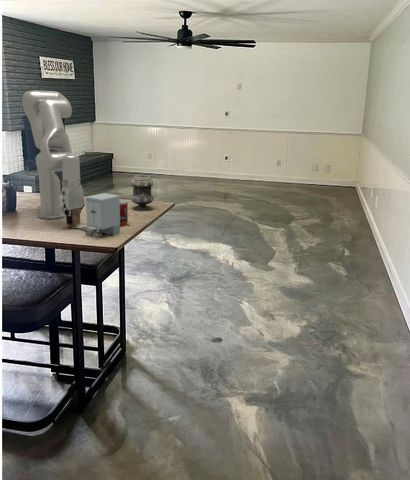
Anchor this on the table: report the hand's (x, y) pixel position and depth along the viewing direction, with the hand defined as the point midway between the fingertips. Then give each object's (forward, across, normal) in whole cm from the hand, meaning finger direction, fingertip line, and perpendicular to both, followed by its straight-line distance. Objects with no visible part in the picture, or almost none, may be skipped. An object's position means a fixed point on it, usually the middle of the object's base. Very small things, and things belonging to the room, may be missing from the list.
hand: (73, 222), depth 221 cm
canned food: (+2, +18, -12) cm, 21 cm away
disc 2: (+3, -4, -18) cm, 19 cm away
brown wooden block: (+2, 0, -6) cm, 6 cm away
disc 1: (+3, -4, -14) cm, 15 cm away
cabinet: (+2, +1, -18) cm, 18 cm away
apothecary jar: (+2, +50, 0) cm, 50 cm away
